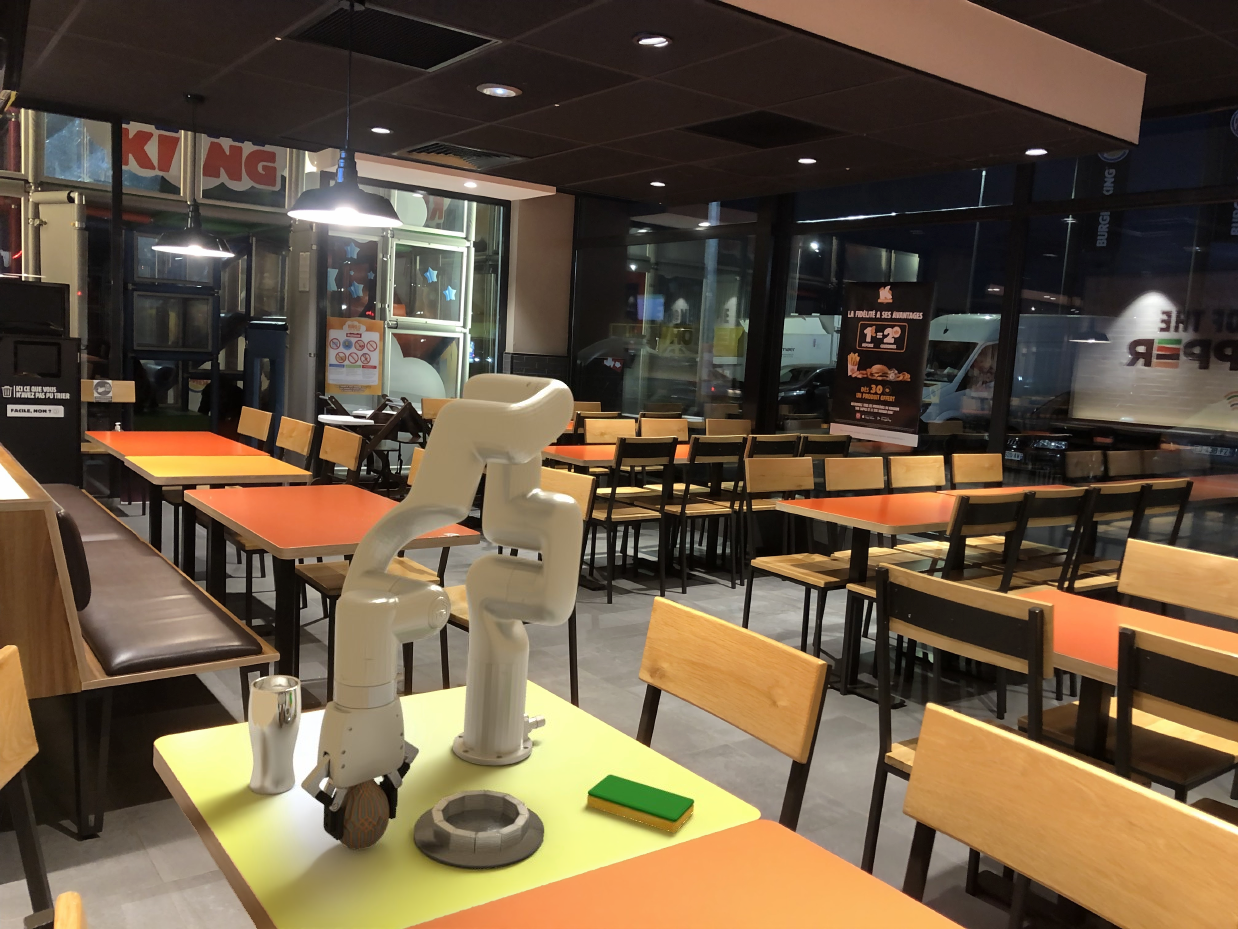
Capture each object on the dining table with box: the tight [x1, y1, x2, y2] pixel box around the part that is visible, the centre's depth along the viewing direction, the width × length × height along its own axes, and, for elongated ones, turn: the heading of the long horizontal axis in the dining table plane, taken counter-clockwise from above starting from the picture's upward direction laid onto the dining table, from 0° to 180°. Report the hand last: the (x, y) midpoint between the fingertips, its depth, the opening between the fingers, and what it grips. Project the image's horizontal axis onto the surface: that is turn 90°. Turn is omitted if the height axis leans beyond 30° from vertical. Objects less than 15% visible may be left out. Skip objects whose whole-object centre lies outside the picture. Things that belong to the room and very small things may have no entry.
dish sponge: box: [586, 774, 695, 833], centre depth 132 cm, size 7×14×2 cm, turn 63°
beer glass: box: [247, 674, 302, 796], centre depth 130 cm, size 7×7×15 cm
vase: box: [338, 778, 390, 850], centre depth 117 cm, size 7×7×9 cm
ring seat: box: [413, 789, 545, 870], centre depth 122 cm, size 17×17×3 cm
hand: (361, 824), depth 117 cm, fingers closed on vase, 6 cm apart
